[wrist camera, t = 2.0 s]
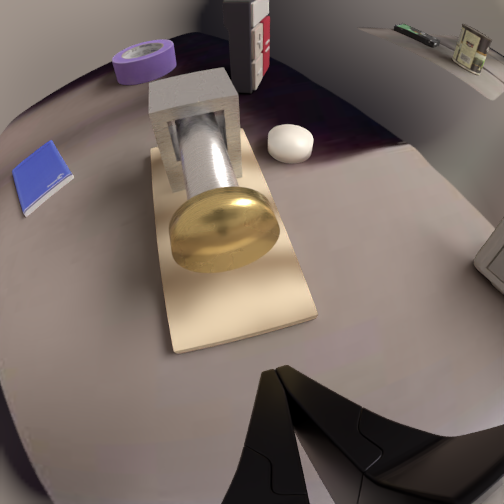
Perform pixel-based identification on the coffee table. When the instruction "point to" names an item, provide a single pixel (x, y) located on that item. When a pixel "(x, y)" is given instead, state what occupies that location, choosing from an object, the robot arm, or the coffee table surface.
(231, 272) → the board
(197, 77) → the bearing block
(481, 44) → the coffee can
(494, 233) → the digital clock
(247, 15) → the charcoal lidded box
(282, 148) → the white rounded flat piece
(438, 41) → the disk drive
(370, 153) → the coffee table surface
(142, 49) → the tape roll
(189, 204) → the shaft
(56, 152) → the hard drive
